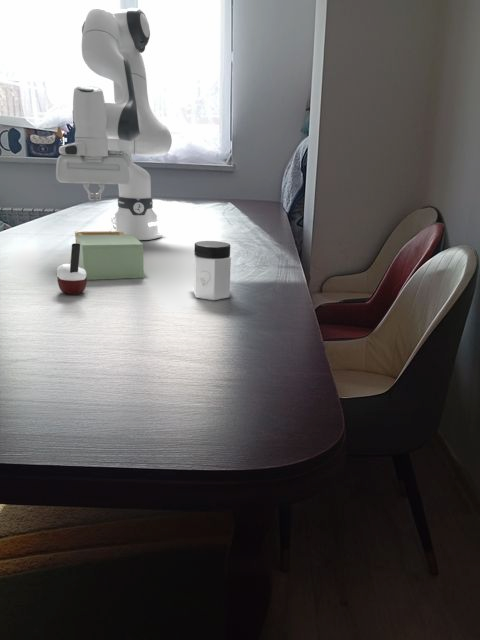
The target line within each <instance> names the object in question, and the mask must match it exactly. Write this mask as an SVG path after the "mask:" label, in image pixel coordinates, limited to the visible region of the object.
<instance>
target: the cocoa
mask: <svg viewBox="0 0 480 640" xmlns="http://www.w3.org/2000/svg"><path fill="white" fill-rule="evenodd" d="M79 255H80V244H79V243H78V244H76V243H72V244H71V252H70V263H63V264H61V265H59V266H58V267H57V268H56V279H57V284H58V287H59V290H60V291H61V292H63V293H64V294H65V295H73V296H74V295H80V294H81V293H83V292H84V291H85V290H86V287H87V283H88V280H87V277H86V271H85V269H82V268H80V267H79Z"/></svg>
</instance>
